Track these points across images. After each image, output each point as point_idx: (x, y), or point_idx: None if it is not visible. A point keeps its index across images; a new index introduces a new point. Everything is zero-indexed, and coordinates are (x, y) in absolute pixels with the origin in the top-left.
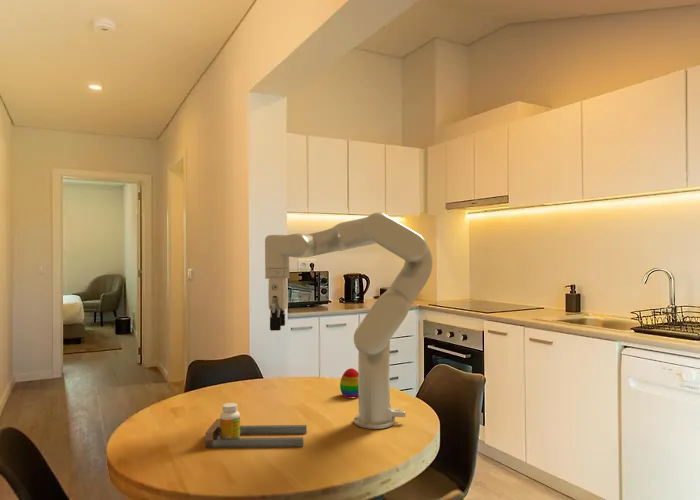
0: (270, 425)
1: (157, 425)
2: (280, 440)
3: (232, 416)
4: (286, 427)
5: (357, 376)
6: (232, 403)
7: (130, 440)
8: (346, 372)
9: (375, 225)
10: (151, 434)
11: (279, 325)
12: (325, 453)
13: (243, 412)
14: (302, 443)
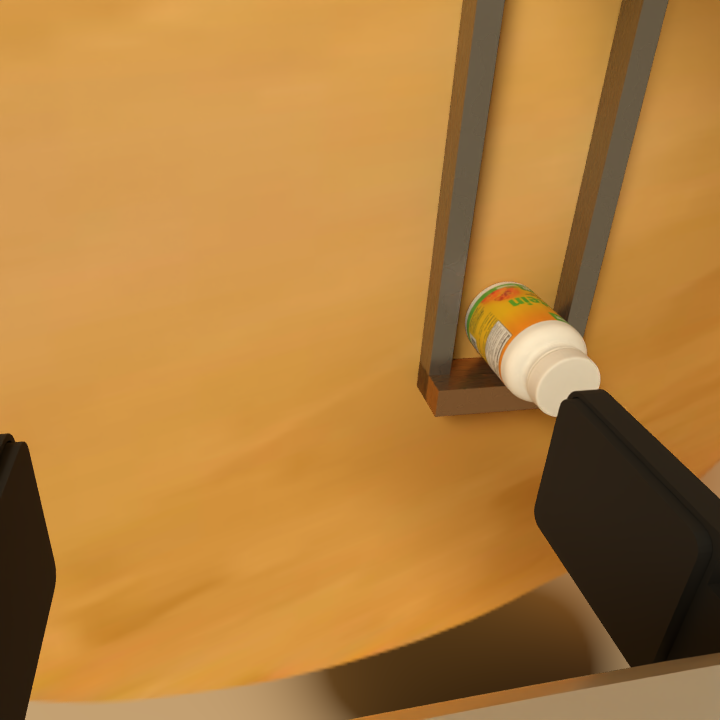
0: (458, 170)
1: (314, 594)
2: (641, 92)
3: (585, 346)
4: (491, 79)
5: None
6: (548, 383)
7: (444, 598)
8: None
9: None
10: (401, 572)
11: (643, 441)
12: None
13: (142, 354)
14: None
